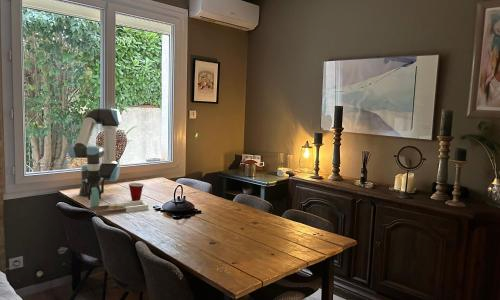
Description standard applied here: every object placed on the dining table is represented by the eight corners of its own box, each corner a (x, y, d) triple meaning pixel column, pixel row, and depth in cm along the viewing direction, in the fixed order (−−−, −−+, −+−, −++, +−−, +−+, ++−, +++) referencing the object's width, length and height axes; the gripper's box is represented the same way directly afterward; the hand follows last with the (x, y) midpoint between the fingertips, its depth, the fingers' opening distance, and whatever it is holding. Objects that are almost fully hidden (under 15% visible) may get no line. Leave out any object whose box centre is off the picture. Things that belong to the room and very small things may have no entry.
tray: (121, 206, 257) (121, 202, 257) (142, 204, 265) (142, 200, 264) (126, 212, 246) (126, 207, 246) (148, 209, 254) (148, 204, 253)
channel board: (92, 210, 247) (92, 206, 247) (121, 206, 257) (121, 203, 257) (96, 215, 237) (96, 211, 236) (126, 212, 246) (126, 208, 246)
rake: (90, 203, 256) (89, 188, 254) (96, 203, 258) (96, 187, 256) (92, 207, 249) (92, 190, 247) (99, 206, 251) (98, 190, 250)
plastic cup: (146, 200, 275) (146, 184, 273) (132, 202, 268) (131, 186, 267) (140, 197, 283) (140, 181, 282) (126, 199, 276) (126, 183, 275)
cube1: (108, 210, 249) (108, 204, 248) (114, 209, 251) (114, 203, 251) (110, 212, 245) (110, 205, 245) (116, 211, 248) (116, 205, 247)
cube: (116, 209, 250) (116, 204, 250) (122, 209, 252) (122, 203, 252) (117, 211, 247) (117, 205, 246) (123, 211, 248) (123, 205, 248)
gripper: (80, 171, 242) (81, 207, 246) (108, 169, 251) (109, 204, 255) (78, 169, 249) (79, 204, 252) (106, 167, 258) (106, 201, 261)
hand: (94, 204), depth 253 cm, fingers closed on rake, 4 cm apart
